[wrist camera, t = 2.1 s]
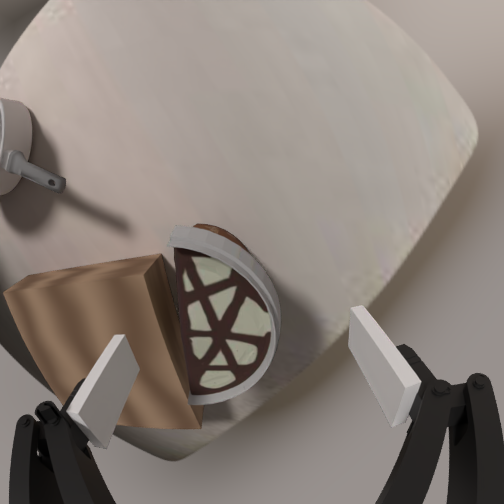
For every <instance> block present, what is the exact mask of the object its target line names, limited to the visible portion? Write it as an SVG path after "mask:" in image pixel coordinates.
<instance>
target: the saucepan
mask: <svg viewBox="0 0 504 504" xmlns="http://www.w3.org/2000/svg"><path fill="white" fill-rule="evenodd" d="M31 144H32V122H31V117H30V113H29V111H28V109H27V107H26V106H25V105H24V104H23V103H21V102H19V101H15V100H9V99H3V98H0V195H4V194H6V193H9V192H10V191H11V190H13V189H14V188H15V186H16V185H17V184H18V183H19V181H20V179H21V177H25V178H27V179H29V180H31V181H33V182H35V183H37V184H39V185H41V186H43V187H46V188H48V189H50V190H52V191H54V192H56V193H62V192H63V190H64V189H65V186H66V179H65V178H63V177H60V176H58V175H56V174H54V173H52V172H49V171H47V170H45V169H43V168H40V167H38V166H36V165H34V164H32V163H29V162H28V159H29V155H30V150H31ZM54 181H55V184H54Z"/></svg>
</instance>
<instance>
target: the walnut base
mask: <svg viewBox="0 0 504 504" xmlns="http://www.w3.org/2000/svg"><path fill="white" fill-rule="evenodd" d="M3 294H4V296H5V299H6V301H7V304H8V307H9V309H10V311H11V314H12V316H13V318H14V321H15V323H16V325H17V327H18V329H19V332H20V334H21V336H22V338H23V340H24V342H25V344H26V346H27V348H28V350H29V352H30V353H31V355H32V357H33V359H34V361H35V362H36V364H37V366H38V368H39V369H40V371H41V373H42V374H43V376H44V378H45V379H46V381H47V382H48V384H49V386H50V387H51V389H52V390H53V392H54V393H55V395H56V396H57V398H58V399H59V400H60V401H61V403H62V405H63V406H64V404H65V402H66V401H67V399H68V397H69V396H70V394H71V393H72V391H73V389H74V388H75V386H76V385H77V383H78V382H80V381H81V380H82V379H83V378H87V376H88V374H89V373H90V371H91V370H92V368H93V367H94V365H95V364H96V362H97V360H98V359H99V357H100V356H101V354H102V353H103V351H104V350H105V348H106V347H107V345H108V344H109V342H110V341H111V339H112V338H113V336H114V335H122V334H125V336H126V338H127V340H128V343H129V345H130V348H131V350H132V352H133V355H134V357H135V359H136V361H137V364H138V366H139V368H140V370H139V373H138V375H137V377H136V379H135V382H134V384H133V386H132V388H131V391H130V393H129V395H128V398H127V400H126V402H125V405H124V407H123V410H122V412H121V414H120V417H119V419H118V422H117V424H116V425H124V426H133V427H145V428H162V429H201V427H202V418H203V409H204V405H188V397H189V391H190V387H189V381H188V375H187V369H186V362H185V357H184V351H183V345H182V340H181V331H180V322H179V319H178V315H177V312H176V309H175V305H174V301H173V298H172V294H171V290H170V287H169V283H168V279H167V275H166V271H165V267H164V263H163V259H162V254H156V255H149V256H143V257H137V258H130V259H124V260H118V261H111V262H105V263H99V264H93V265H87V266H81V267H74V268H68V269H62V270H57V271H51V272H45V273H39V274H33V275H28V276H27V277H25V278H24V279H22V280H21V281H19V282H18V283H16V284H15V285H13V286H12V287H10V288H9V289H7V290H6V291H5V292H3Z"/></svg>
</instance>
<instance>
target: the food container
mask: <svg viewBox="0 0 504 504" xmlns="http://www.w3.org/2000/svg"><path fill="white" fill-rule="evenodd" d="M167 246H168V247H174V261H175V267H176V279H177V293H178V306H179V319H180V331H181V340H182V345H183V351H184V357H185V362H186V369H187V375H188V381H189V387H190V391H189V397H188V405H206V404H214V403H218V402H222V401H226V400H228V399H231V398H234V397H236V396H238V395H240V394H242V393H243V392H245V391H247V390H248V389H249V388H251V387H252V386H253V385H254V384H255V383H256V382H257V381H258V380H259V379H260V378H261V377H262V376H263V375H264V373H265V371H266V370H267V368H268V367H269V365H270V363H271V362H272V360H273V357H274V355H275V353H276V350H277V346H278V341H279V335H280V328H281V308H280V303H279V298H278V295H277V293H276V290H275V288H274V285H273V283H272V281H271V280H270V278H269V276H268V275H267V273H266V271H265V270H264V269H263V268H262V266H261V265H260V264H259V263H258V262H257V261H256V260H255V258H254V257H252V256H251V255H250V253H249V252H248V250H247V249H246V247H245V246H244V245H243V244H242V242H241V241H240V240H239V239H238V238H236V237H235V236H234V235H233V234H231V233H229V232H228V231H226V230H224V229H221V228H219V227H216V226H212V225H208V224H196V225H194V226H193V227H190V226H177V225H176V226H175V228H174V230H173V231H172V233H171V235H170V242H169V243H168V244H167Z"/></svg>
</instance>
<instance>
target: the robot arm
mask: <svg viewBox="0 0 504 504" xmlns="http://www.w3.org/2000/svg"><path fill="white" fill-rule="evenodd" d="M348 346H349V348H350V350H351V352H352V354H353V356H354V357H355V359H356V361H357V363H358V365H359V367H360V369H361V370H362V372H363V374H364V376H365V378H366V380H367V382H368V384H369V385H370V387H371V389H372V391H373V393H374V395H375V397H376V399H377V401H378V403H379V405H380V407H381V409H382V411H383V413H384V414H385V417H386V418H387V421H388V423H389V424H390V426H391V428H392V427H394V426H397V425H399V424H402V423H405V422H406V420H407V418H408V416H409V415H410V417H411V419H412V423H411V424H410V427H409V429H408V431H407V436H406V439H405V441H404V444H403V447H402V449H401V451H400V454H399V456H398V459H397V461H396V463H395V466H394V468H393V470H392V472H391V474H390V476H389V478H388V481H387V482H386V485H385V486H384V488H383V490H382V493H381V494H380V496H379V498H378V500H377V501H376V503H375V504H422V503H423V501H424V499H425V497H426V494H427V491H428V489H429V486H430V484H431V481H432V478H433V475H434V472H435V469H436V466H437V462H438V459H439V456H440V453H441V449H442V445H443V441H444V437H445V433H446V428H447V427H449V482H448V483H449V484H448V495H447V504H504V441H503V435H502V428H501V423H500V418H499V413H498V408H497V404H496V400H495V396H494V392H493V388H492V385H491V381H490V380H489V378H488V377H487V376H486V375H484V374H481V373H475V374H472V375H471V376H470V377H469V378H468V380H467V382H466V383H463V384H457V385H451V384H450V383H448V382H447V381H444V380H437V379H436V378H435V377H434V375H433V374H432V373H431V371H430V370H429V369H428V368H427V366H426V365H425V364H424V363H423V361H421V359H420V358H419V357H418V356H417V354H416V353H415V351H414V350H413V349H412V348H410V347H408V346H407V345H405V344H403V345H399V346H396V347H395V345H394V344H393V343H392V342H391V340H390V339H389V338H388V336H387V335H386V334H385V333H384V331H383V330H382V329H381V327H380V326H379V325H378V324H377V322H376V321H375V320H374V319H373V317H372V316H371V315H370V314H369V312H368V311H367V310H366V309H365V307H364V306H363V305H361V306H356V307H351V308H350V328H349V344H348ZM139 370H140V368H139V366H138V364H137V361H136V359H135V357H134V355H133V352H132V350H131V348H130V345H129V343H128V340H127V338H126V336H125V334H122V335H114V336H113V338H112V339H111V341H110V342H109V344H108V345H107V347H106V348H105V350H104V351H103V353H102V354H101V356H100V357H99V359H98V360H97V362H96V364H95V365H94V367H93V368H92V370H91V371H90V373H89V374H88V376H87V378H83V379H82V380H81V381H80V382H78V383H77V385H76V386H75V388H74V389H73V391H72V393H71V394H70V396H69V397H68V399H67V401H66V402H65V404H64V406H63V407H62V409H61V411H59V410H58V408H57V407H56V405H55V404H54V403H53V402H51V401H45V402H43V403H40V404H39V406H37V408H36V410H35V415H36V416H37V417H38V418H39V420H40V421H36V420H35V419H34V418H33V416H31V415H23V416H22V417H20V419H19V420H18V422H17V425H16V430H15V436H14V442H13V449H12V457H11V467H10V482H9V504H116V503H115V501H114V499H113V497H112V495H111V494H110V492H109V490H108V488H107V486H106V484H105V482H104V480H103V478H102V475H101V473H100V471H99V469H98V467H97V464H96V462H95V460H94V457H93V455H92V452H91V450H90V448H89V447H88V445H87V443H88V441H90V442H91V443H92V444H93V445H94V446H95V447H99V448H104V449H107V447H108V444H109V442H110V439H111V436H112V434H113V432H114V429H115V427H116V424H117V422H118V419H119V417H120V414H121V412H122V410H123V407H124V405H125V402H126V400H127V398H128V395H129V393H130V391H131V388H132V386H133V384H134V382H135V379H136V377H137V375H138V373H139ZM37 451H38V452H39V456H38V455H37Z"/></svg>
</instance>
